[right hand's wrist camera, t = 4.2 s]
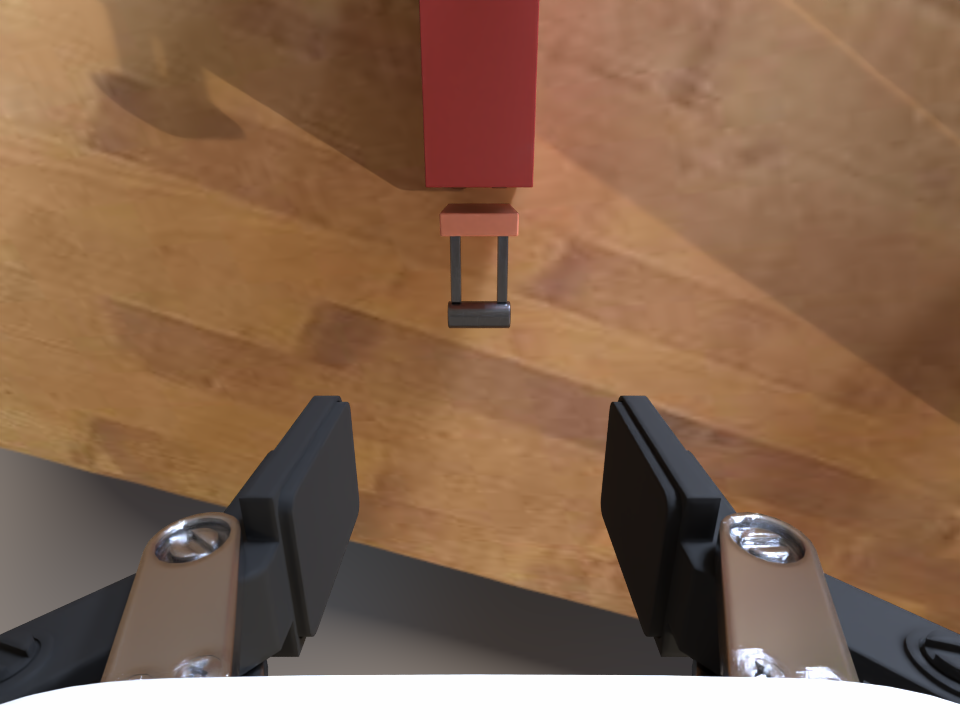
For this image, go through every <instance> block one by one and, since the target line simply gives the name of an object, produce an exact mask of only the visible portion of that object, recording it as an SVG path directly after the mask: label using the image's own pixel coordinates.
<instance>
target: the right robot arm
mask: <svg viewBox="0 0 960 720" xmlns="http://www.w3.org/2000/svg"><path fill="white" fill-rule="evenodd" d="M358 512H359V493H358V483H357V473H356V463H355V452H354V442H353V432H352V421H351V411H350V405H349V403H348V402H342V400H341V398H340V396H314V397H313V398H312V399H311V401H310V402H309V403H308V405H307V406H306V407H305V409H304V410H303V412H302V413H301V414H300V416H299V417H298V418H297V420H296V421H295V422H294V424H293V425H292V426H291V428H290V429H289V430H288V432H287V433H286V435H285V436H284V437H283V439H282V440H281V441H280V443H279V444H278V445H277V447H276V448H275V449H274V450H273V451H270V452H269V453H268V454H267V456H266V457H265V458H264V460H263V461H262V462H261V464H260V465H259V466H258V468H257V469H256V470H255V472H254V473H253V474H252V476H251V477H250V478H249V480H248V481H247V482H246V484H245V485H244V486H243V488H242V489H241V490H240V492H239V493H238V494H237V496H236V497H235V498H234V500H233V501H232V502H231V504H230V505H229V506H228V508H227V509H226V510H225V512H224V513H217V512H210V513H202V514H197V515H193V516H189V517H186V518H183V519H181V520H179V521H176V522H174V523H172V524H170V525H168V526H167V527H165V528H164V529H162V530H161V531H159V532H158V533H157V534H156V535H155V536H154V537H153V538H152V539H151V540H150V541H149V542H148V544H147V546H146V547H145V549H144V551H143V555H142V558H141V561H140V564H139V567H138V570H137V573H135V574H133V575H131V576H129V577H126V578H124V579H122V580H120V581H118V582H115V583H113V584H111V585H109V586H107V587H104V588H102V589H100V590H98V591H96V592H93V593H91V594H89V595H87V596H85V597H82V598H80V599H78V600H76V601H73V602H71V603H69V604H67V605H65V606H62V607H60V608H58V609H56V610H54V611H51V612H49V613H47V614H45V615H43V616H40V617H38V618H36V619H34V620H32V621H29V622H27V623H25V624H23V625H20V626H18V627H16V628H14V629H12V630H9V631H7V632H5V633H3V634H1V635H0V720H960V635H959V634H957V633H955V632H953V631H951V630H948V629H946V628H944V627H942V626H940V625H937V624H935V623H933V622H931V621H929V620H926V619H924V618H922V617H920V616H917V615H915V614H913V613H911V612H909V611H906V610H904V609H902V608H900V607H898V606H895V605H893V604H891V603H889V602H887V601H884V600H882V599H880V598H878V597H875V596H873V595H871V594H869V593H867V592H864V591H862V590H860V589H858V588H856V587H853V586H851V585H849V584H847V583H845V582H842V581H840V580H838V579H836V578H834V577H831V576H829V575H827V574H825V573H823V570H822V567H821V564H820V561H819V558H818V554H817V551H816V549H815V547H814V546H813V544H812V542H811V541H810V540H809V539H808V538H807V537H806V536H805V535H804V534H803V533H802V532H801V531H799V530H798V529H796V528H795V527H793V526H792V525H790V524H788V523H786V522H784V521H781V520H779V519H777V518H774V517H771V516H767V515H763V514H758V513H750V512H743V513H736V512H735V510H734V509H733V508H732V506H731V505H730V504H729V502H728V501H727V500H726V498H725V497H724V496H723V494H722V493H721V492H720V490H719V489H718V488H717V486H716V485H715V484H714V482H713V481H712V480H711V478H710V477H709V476H708V474H707V473H706V472H705V470H704V469H703V468H702V466H701V465H700V464H699V462H698V461H697V460H696V458H695V457H694V456H693V454H692V453H691V452H690V451H687V450H686V449H685V448H684V447H683V445H682V444H681V443H680V441H679V440H678V439H677V437H676V436H675V435H674V433H673V432H672V431H671V429H670V428H669V426H668V425H667V424H666V422H665V421H664V420H663V418H662V417H661V416H660V414H659V413H658V412H657V410H656V409H655V407H654V406H653V405H652V403H651V402H650V401H649V399H648V398H647V397H646V396H620V398H619V400H618V402H612V403H611V405H610V411H609V421H608V432H607V442H606V452H605V462H604V473H603V483H602V493H601V512H602V516H603V519H604V522H605V525H606V528H607V531H608V533H609V536H610V539H611V542H612V545H613V547H614V550H615V553H616V556H617V559H618V562H619V564H620V567H621V570H622V573H623V576H624V579H625V581H626V584H627V587H628V590H629V593H630V595H631V598H632V601H633V604H634V607H635V610H636V612H637V615H638V618H639V621H640V624H641V626H642V629H643V632H644V634H645V635H646V636H648V637H654V639H655V641H656V644H657V647H658V650H659V652H660V655H661V657H691V658H692V659H693V664H692V676H634V675H632V676H631V675H326V676H268V664H267V659H268V658H269V657H299V655H300V652H301V650H302V647H303V644H304V641H305V639H306V637H313V636H314V635H315V634H316V632H317V629H318V626H319V624H320V621H321V618H322V615H323V612H324V610H325V607H326V604H327V601H328V598H329V595H330V593H331V590H332V587H333V584H334V581H335V578H336V576H337V573H338V570H339V567H340V564H341V562H342V559H343V556H344V553H345V550H346V547H347V545H348V542H349V539H350V536H351V533H352V531H353V528H354V525H355V522H356V519H357V516H358Z"/></svg>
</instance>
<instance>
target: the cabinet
mask: <svg viewBox="0 0 960 720" xmlns="http://www.w3.org/2000/svg"><path fill="white" fill-rule="evenodd" d="M419 12H420V40H421V69H422V98H423V126H424V155H425V183H426V187H533V166H534V137H535V108H536V79H537V50H538V20H539V0H419Z"/></svg>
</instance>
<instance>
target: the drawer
mask: <svg viewBox="0 0 960 720" xmlns="http://www.w3.org/2000/svg"><path fill="white" fill-rule="evenodd" d="M452 188H466V187H452ZM492 188H507V187H492ZM518 223H519V214H518V213H517V212H516V210H515V209H514V208H513V207H512V206H511V205H510V204H448V205H447V206H446V207H445V208H444V210H443V211H442V212H441V213H440V235H441V236H450V261H451V301H449V302H448V327H449V328H509V327H510V319H511V309H510V302H509V301H507V278H508V236H518ZM461 236H498V254H497V301H461Z"/></svg>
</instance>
